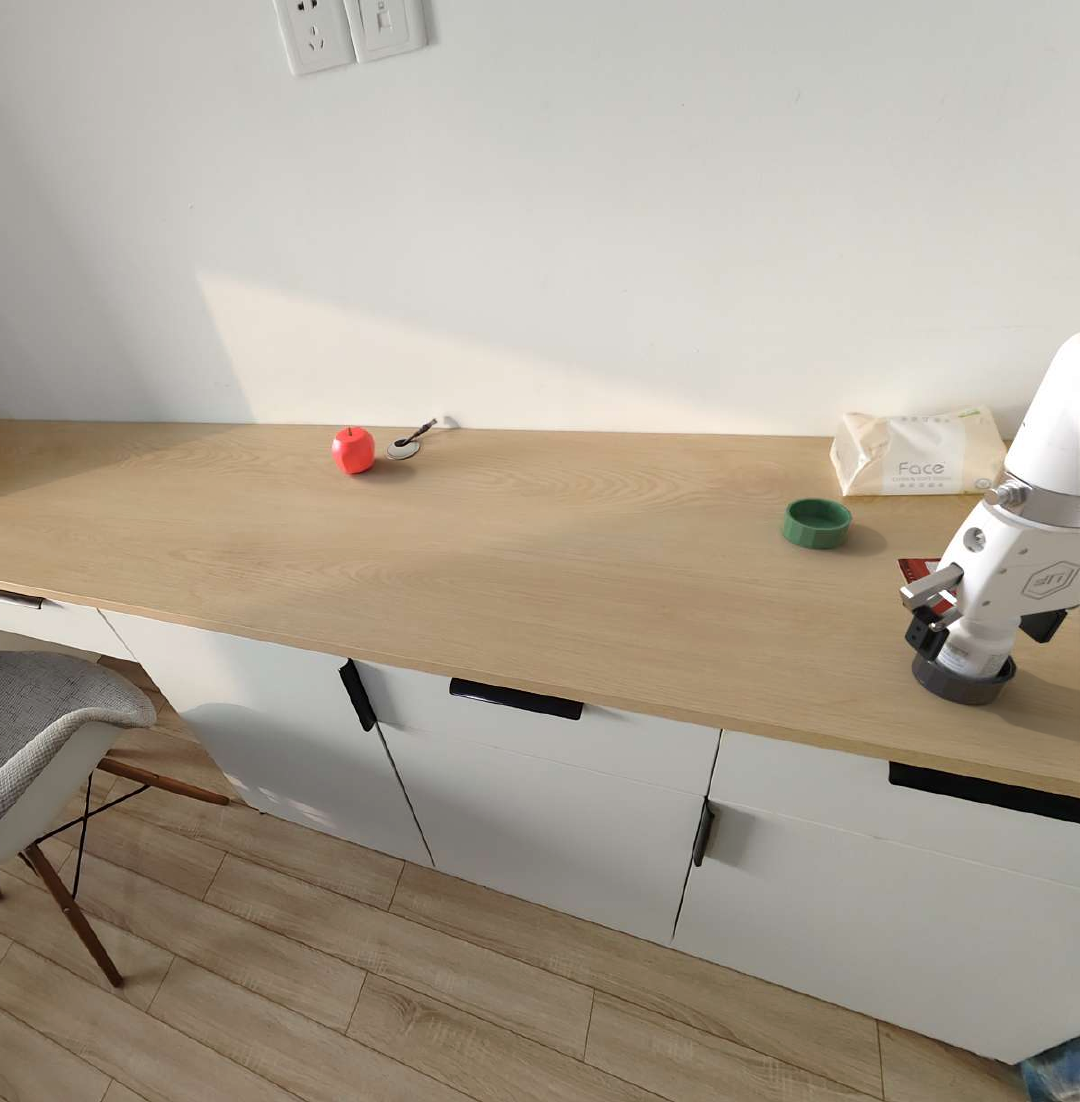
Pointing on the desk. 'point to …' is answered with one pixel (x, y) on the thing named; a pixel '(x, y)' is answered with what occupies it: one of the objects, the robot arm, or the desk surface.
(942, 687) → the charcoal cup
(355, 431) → the apple
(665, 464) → the desk surface
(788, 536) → the green round container
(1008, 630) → the pill bottle
